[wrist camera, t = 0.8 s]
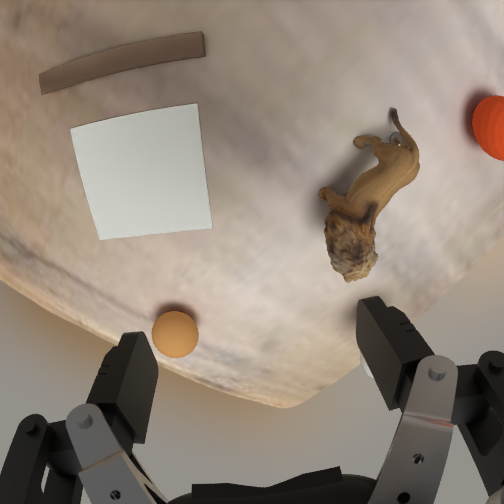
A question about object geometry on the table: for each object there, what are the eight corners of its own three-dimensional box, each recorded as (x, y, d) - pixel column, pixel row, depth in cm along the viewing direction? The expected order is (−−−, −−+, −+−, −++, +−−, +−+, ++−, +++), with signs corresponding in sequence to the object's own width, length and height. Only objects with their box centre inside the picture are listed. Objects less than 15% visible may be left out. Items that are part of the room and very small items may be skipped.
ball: (150, 302, 35) (142, 337, 31) (195, 299, 35) (192, 335, 31) (161, 333, 38) (156, 367, 34) (202, 331, 38) (201, 366, 34)
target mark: (71, 128, 23) (70, 129, 23) (197, 103, 23) (197, 103, 23) (100, 239, 30) (100, 240, 30) (212, 227, 30) (212, 228, 30)
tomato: (476, 70, 21) (523, 82, 16) (508, 104, 23) (551, 121, 17) (451, 129, 25) (495, 151, 20) (485, 157, 27) (525, 183, 21)
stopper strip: (52, 71, 20) (38, 74, 18) (203, 34, 20) (201, 31, 18) (55, 91, 21) (41, 95, 19) (205, 56, 21) (203, 55, 19)
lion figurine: (341, 240, 32) (371, 297, 25) (298, 224, 31) (321, 281, 23) (410, 120, 25) (469, 148, 18) (368, 92, 24) (423, 110, 16)
